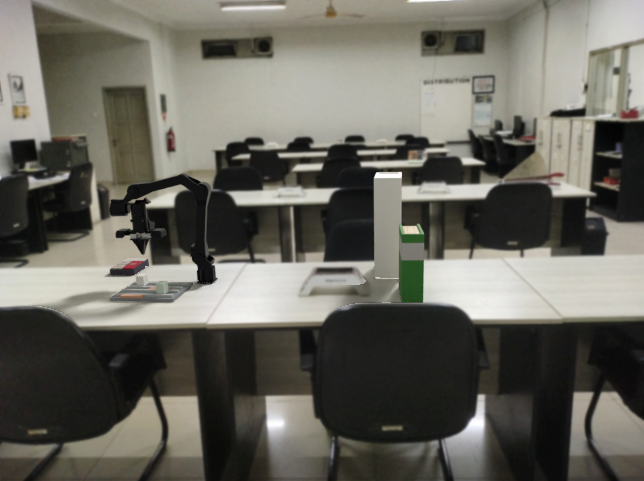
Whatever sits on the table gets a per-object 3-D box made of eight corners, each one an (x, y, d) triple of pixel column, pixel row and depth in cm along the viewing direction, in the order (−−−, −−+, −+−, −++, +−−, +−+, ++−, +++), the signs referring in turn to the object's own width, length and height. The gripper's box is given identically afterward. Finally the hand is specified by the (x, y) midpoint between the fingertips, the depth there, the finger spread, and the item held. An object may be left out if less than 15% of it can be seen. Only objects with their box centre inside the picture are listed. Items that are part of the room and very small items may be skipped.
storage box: (400, 279, 207) (401, 177, 198) (374, 279, 209) (373, 177, 200) (401, 265, 228) (401, 172, 219) (376, 264, 229) (376, 172, 220)
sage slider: (168, 291, 195) (167, 281, 194) (164, 294, 192) (163, 284, 191) (160, 291, 196) (159, 280, 195) (156, 294, 192) (155, 283, 191)
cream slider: (148, 283, 206) (147, 273, 205) (144, 286, 202) (143, 276, 201) (141, 283, 206) (140, 273, 205) (136, 286, 202) (135, 276, 202)
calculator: (108, 267, 224) (125, 257, 238) (110, 277, 225) (126, 266, 239) (133, 267, 223) (148, 257, 237) (134, 277, 224) (149, 266, 238)
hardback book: (398, 286, 199) (398, 224, 194) (418, 286, 198) (419, 223, 193) (401, 302, 182) (401, 234, 177) (423, 302, 181) (424, 234, 176)
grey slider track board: (193, 285, 208) (193, 280, 207) (173, 302, 188) (172, 296, 188) (135, 284, 211) (135, 279, 210) (109, 301, 192) (109, 295, 191)
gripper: (170, 211, 212) (173, 249, 215) (126, 212, 214) (130, 249, 218) (158, 217, 201) (162, 256, 205) (112, 217, 203) (117, 256, 207)
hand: (143, 254), depth 209 cm, fingers closed
